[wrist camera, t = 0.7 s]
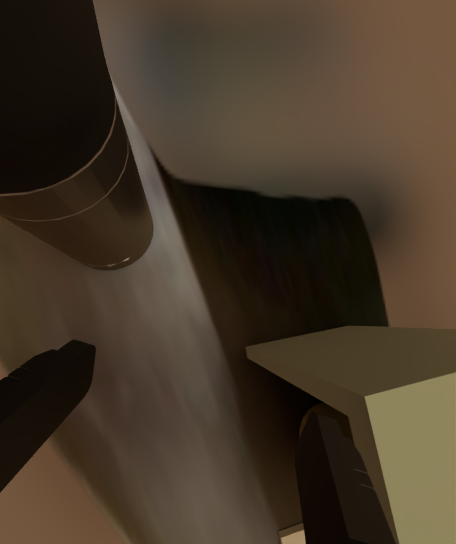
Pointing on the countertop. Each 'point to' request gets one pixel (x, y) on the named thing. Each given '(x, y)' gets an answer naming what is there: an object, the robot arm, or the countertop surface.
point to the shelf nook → (387, 413)
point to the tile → (292, 535)
